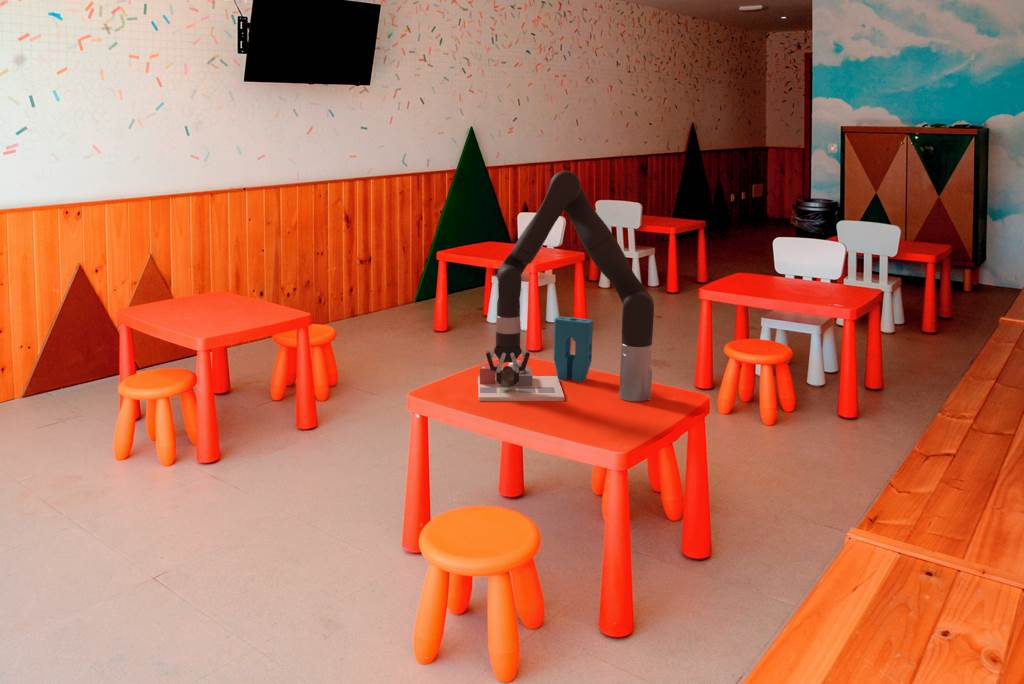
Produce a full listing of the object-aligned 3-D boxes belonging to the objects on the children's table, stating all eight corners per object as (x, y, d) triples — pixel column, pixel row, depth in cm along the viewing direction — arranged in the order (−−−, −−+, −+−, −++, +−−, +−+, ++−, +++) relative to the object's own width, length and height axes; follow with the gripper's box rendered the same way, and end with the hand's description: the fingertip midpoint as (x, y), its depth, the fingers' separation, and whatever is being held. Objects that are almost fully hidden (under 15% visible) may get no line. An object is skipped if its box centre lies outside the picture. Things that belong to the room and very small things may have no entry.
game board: (557, 379, 297) (557, 375, 297) (564, 400, 276) (564, 396, 276) (477, 379, 296) (477, 376, 296) (478, 401, 275) (478, 396, 274)
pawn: (514, 382, 283) (514, 364, 282) (514, 386, 279) (515, 368, 278) (500, 382, 283) (500, 364, 282) (500, 386, 279) (500, 368, 278)
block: (591, 379, 298) (593, 320, 293) (586, 383, 294) (588, 323, 289) (557, 374, 303) (559, 316, 298) (552, 378, 299) (553, 319, 294)
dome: (523, 373, 293) (524, 357, 292) (524, 378, 287) (525, 362, 286) (506, 373, 293) (506, 357, 291) (507, 378, 287) (507, 362, 286)
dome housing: (530, 377, 296) (530, 366, 295) (532, 386, 286) (532, 375, 285) (499, 377, 295) (499, 366, 294) (500, 386, 285) (500, 375, 285)
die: (495, 379, 293) (495, 364, 291) (495, 384, 288) (495, 368, 286) (479, 379, 292) (479, 364, 291) (479, 384, 287) (479, 368, 286)
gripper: (530, 327, 281) (529, 379, 285) (484, 326, 280) (484, 379, 284) (532, 333, 274) (531, 387, 278) (485, 332, 273) (484, 387, 277)
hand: (507, 383), depth 281 cm, fingers closed on pawn, 4 cm apart
